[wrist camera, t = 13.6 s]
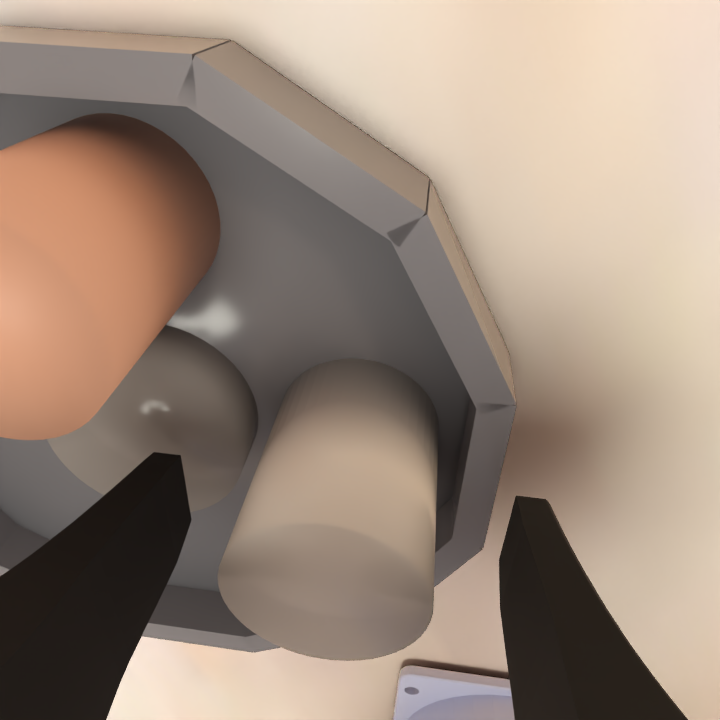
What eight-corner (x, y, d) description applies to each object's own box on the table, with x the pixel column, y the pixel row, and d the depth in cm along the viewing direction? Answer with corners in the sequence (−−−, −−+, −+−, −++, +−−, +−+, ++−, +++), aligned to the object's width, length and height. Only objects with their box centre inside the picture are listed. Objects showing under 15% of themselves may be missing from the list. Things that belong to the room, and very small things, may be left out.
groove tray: (451, 622, 20) (451, 681, 19) (-26, 556, 22) (-66, 605, 20) (571, 61, 11) (593, 80, 9) (-293, 7, 12) (-409, 14, 11)
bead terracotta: (228, 305, 14) (131, 453, 10) (61, 288, 14) (-102, 425, 10) (210, 120, 12) (77, 211, 7) (13, 105, 12) (-221, 185, 8)
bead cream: (429, 490, 16) (422, 672, 12) (283, 473, 17) (226, 644, 12) (447, 367, 14) (446, 539, 10) (277, 350, 14) (207, 509, 10)
